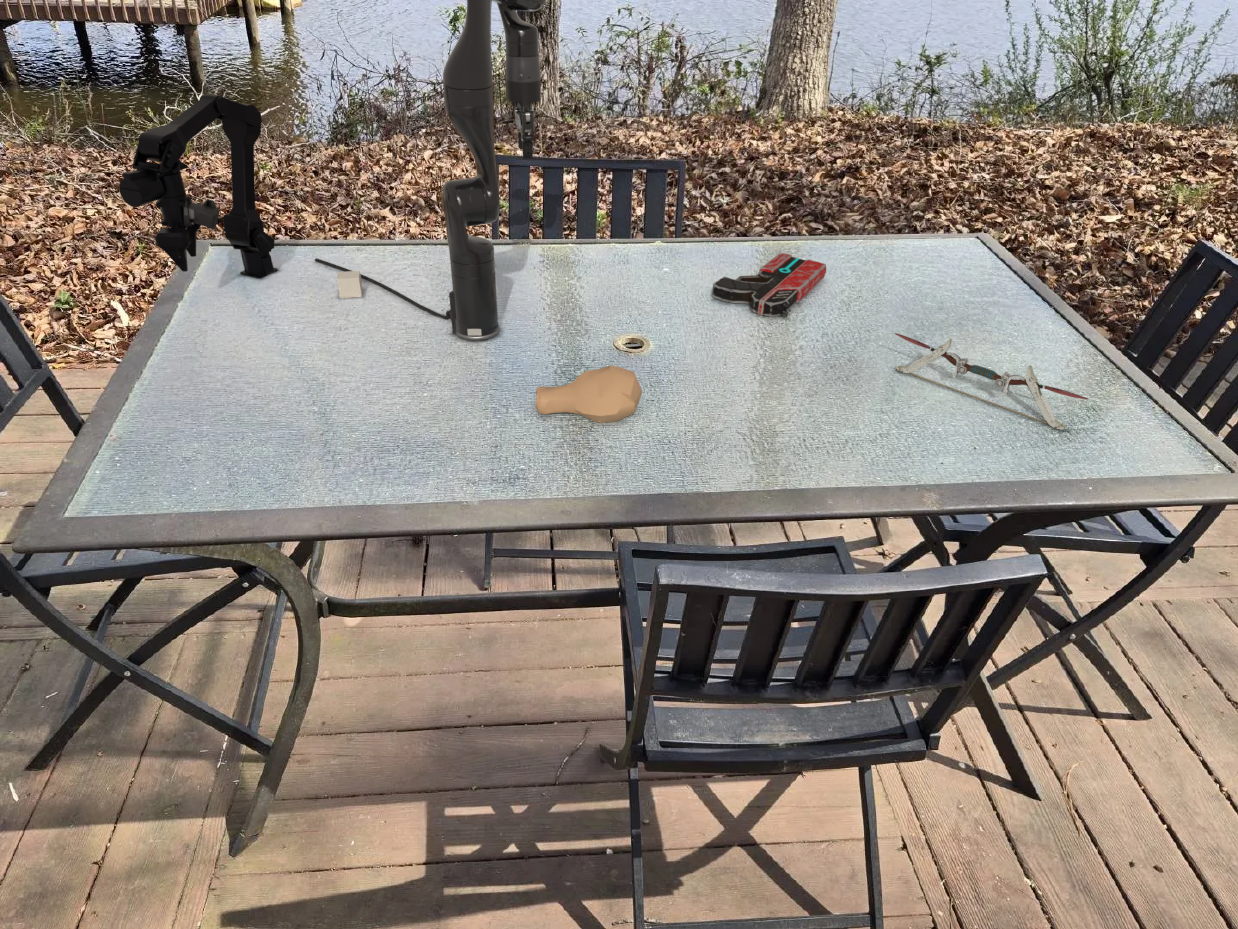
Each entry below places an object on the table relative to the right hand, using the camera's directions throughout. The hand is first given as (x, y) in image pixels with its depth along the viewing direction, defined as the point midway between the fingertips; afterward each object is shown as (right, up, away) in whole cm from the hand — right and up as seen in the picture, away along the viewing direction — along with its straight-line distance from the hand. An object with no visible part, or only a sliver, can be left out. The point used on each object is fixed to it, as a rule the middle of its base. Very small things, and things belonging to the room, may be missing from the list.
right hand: (525, 153), depth 199 cm
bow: (+92, -58, -26) cm, 112 cm away
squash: (+16, -61, -35) cm, 72 cm away
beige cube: (-43, -30, +9) cm, 53 cm away
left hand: (-75, -26, -3) cm, 80 cm away
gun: (+59, -28, +17) cm, 67 cm away
